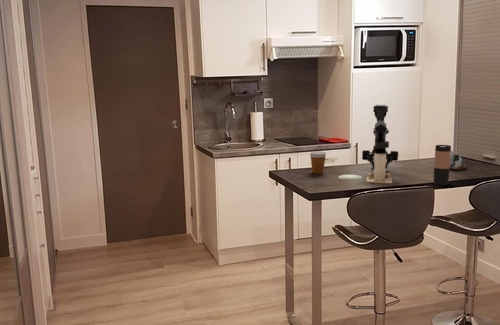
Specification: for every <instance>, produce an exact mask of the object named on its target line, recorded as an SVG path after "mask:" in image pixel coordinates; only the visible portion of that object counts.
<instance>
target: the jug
mask: <svg viewBox="0 0 500 325" xmlns="http://www.w3.org/2000/svg"><path fill="white" fill-rule="evenodd" d="M373 161H374V169H373V173H374V179H373V180H375V181H385V173H386V172H387V169H386V161H387V160H386V154H383V153H376V154H375V157H374V160H373Z"/></svg>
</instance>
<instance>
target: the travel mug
mask: <svg viewBox="0 0 500 325" xmlns="http://www.w3.org/2000/svg"><path fill="white" fill-rule="evenodd" d="M451 151H452V146H451V145H448V144H436V145H435V147H434V159H433V160H434V161H433V162H434V164H433V184H435V185H438V186H447V185H448V184H449V180H450V170H451V168H450V155H451Z"/></svg>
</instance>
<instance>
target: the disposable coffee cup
mask: <svg viewBox="0 0 500 325" xmlns="http://www.w3.org/2000/svg"><path fill="white" fill-rule="evenodd" d="M309 156H310V161H311V164H310V165H311V170H312V173H313V174H316V175H321V174H323V173H324V171H325V170H324V168H325V161H326V157H327V153H326V152H325V151H311V152H310V154H309Z"/></svg>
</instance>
